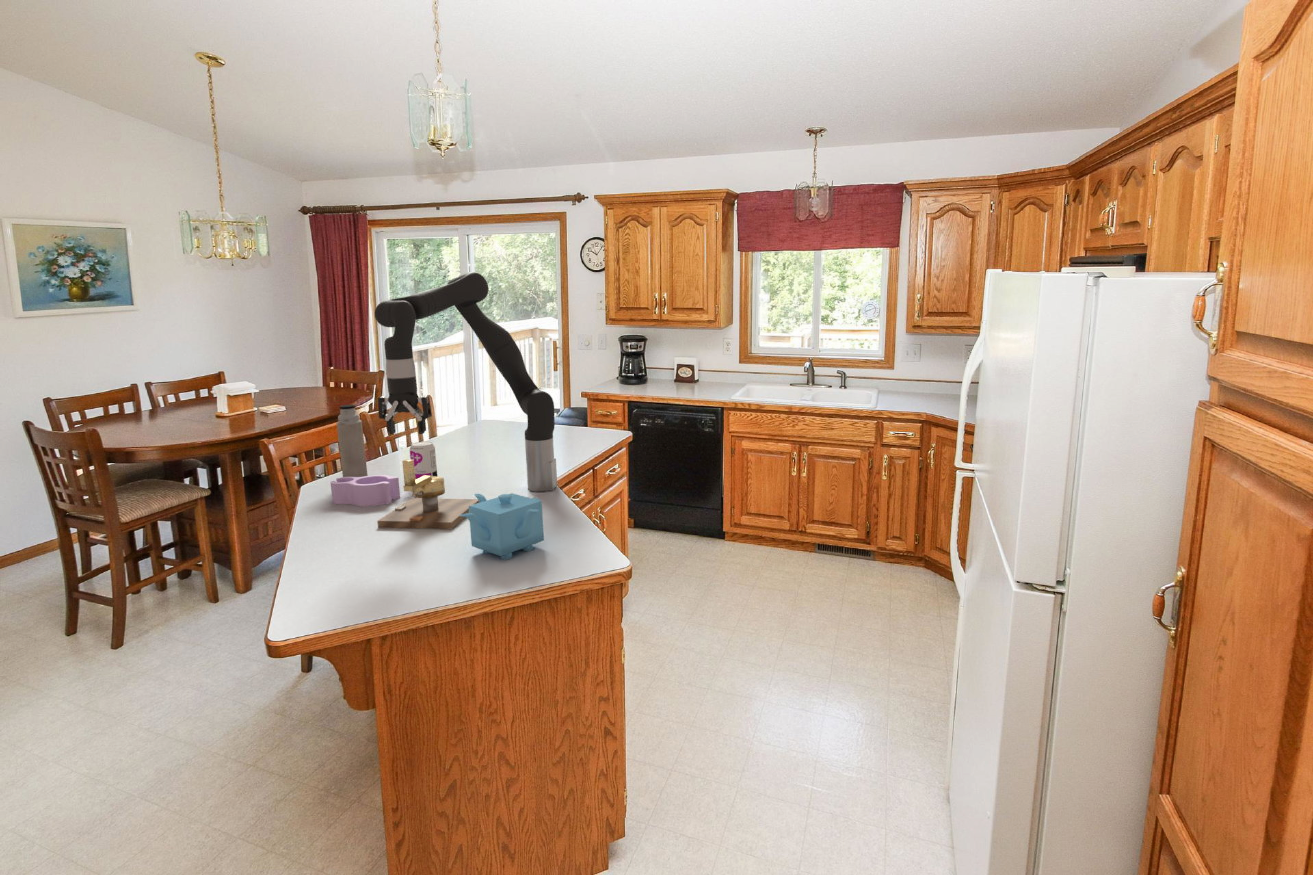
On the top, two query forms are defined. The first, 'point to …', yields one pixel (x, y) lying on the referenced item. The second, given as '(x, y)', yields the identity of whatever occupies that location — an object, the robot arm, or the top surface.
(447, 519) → the walnut base
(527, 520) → the teakettle
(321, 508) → the top surface
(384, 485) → the lavender double cup holder
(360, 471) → the thermos bottle
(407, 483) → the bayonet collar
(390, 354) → the robot arm
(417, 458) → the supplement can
